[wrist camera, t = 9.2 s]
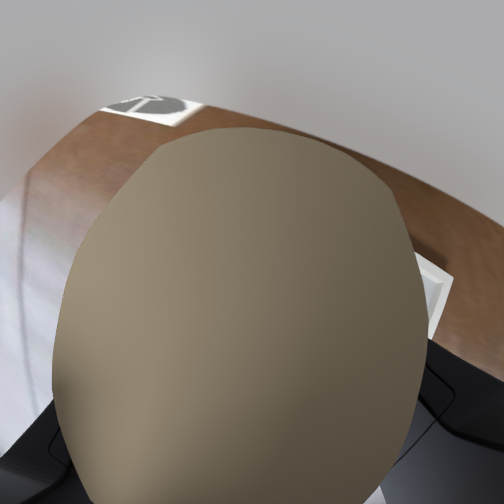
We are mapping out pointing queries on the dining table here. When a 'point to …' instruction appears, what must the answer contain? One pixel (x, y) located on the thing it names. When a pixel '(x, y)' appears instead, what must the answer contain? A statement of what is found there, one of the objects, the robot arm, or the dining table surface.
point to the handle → (241, 328)
